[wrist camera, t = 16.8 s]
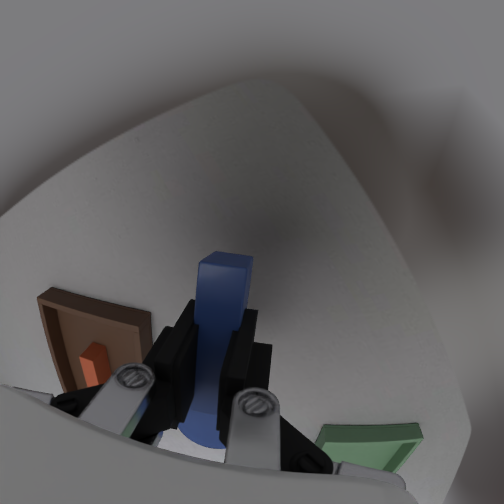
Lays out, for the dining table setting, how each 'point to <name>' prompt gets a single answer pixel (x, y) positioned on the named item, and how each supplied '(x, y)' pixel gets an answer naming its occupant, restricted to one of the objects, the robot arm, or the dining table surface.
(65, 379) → the tray
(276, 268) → the dining table surface
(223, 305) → the blue spoon
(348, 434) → the green tray
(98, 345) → the terracotta spoon
